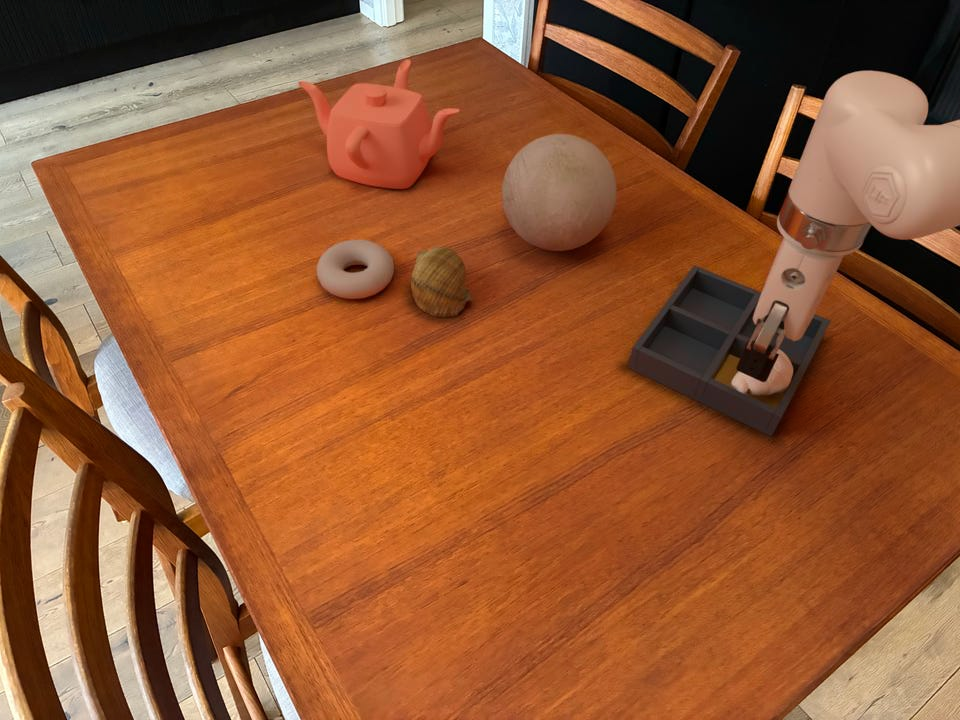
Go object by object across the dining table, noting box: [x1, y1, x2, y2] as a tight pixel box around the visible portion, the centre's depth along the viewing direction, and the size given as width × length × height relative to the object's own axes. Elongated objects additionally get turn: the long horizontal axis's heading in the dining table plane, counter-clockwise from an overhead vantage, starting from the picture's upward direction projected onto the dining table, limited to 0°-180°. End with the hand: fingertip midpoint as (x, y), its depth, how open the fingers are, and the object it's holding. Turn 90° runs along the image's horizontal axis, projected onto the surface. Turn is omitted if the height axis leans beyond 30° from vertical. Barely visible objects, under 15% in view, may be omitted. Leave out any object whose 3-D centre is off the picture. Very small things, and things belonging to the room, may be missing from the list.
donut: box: [316, 238, 395, 300], centre depth 94 cm, size 10×4×10 cm
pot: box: [297, 59, 460, 190], centre depth 108 cm, size 18×17×12 cm
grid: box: [627, 264, 832, 437], centre depth 86 cm, size 17×17×4 cm
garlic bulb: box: [731, 349, 793, 396], centre depth 80 cm, size 6×6×5 cm
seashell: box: [410, 246, 473, 319], centre depth 92 cm, size 10×7×8 cm
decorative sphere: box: [501, 133, 618, 252], centre depth 96 cm, size 15×15×15 cm
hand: (765, 349), depth 78 cm, fingers open, 8 cm apart
